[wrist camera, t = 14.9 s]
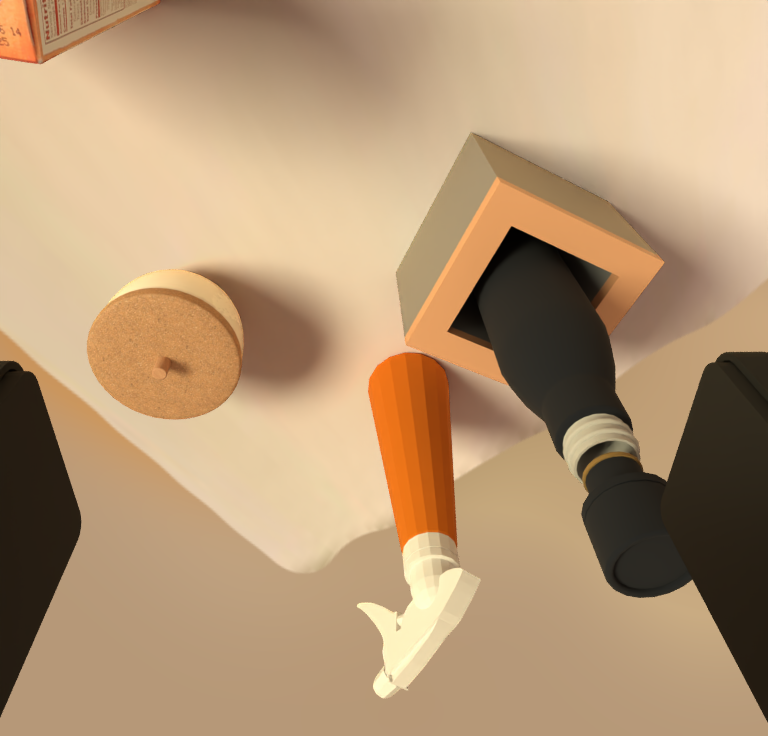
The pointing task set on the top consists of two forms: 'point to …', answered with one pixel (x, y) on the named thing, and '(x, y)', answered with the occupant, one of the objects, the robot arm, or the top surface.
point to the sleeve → (486, 232)
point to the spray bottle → (418, 514)
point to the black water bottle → (578, 407)
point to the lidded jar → (168, 345)
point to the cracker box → (58, 24)
